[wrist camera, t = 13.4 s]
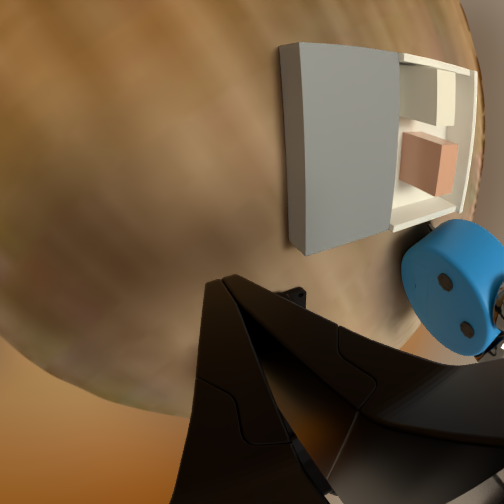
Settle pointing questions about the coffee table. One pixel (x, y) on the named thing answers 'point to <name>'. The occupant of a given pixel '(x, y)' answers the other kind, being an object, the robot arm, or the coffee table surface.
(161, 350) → the coffee table surface
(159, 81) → the coffee table surface
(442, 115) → the cream block
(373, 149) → the slate plate
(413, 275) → the alarm clock
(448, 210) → the tray
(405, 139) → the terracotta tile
